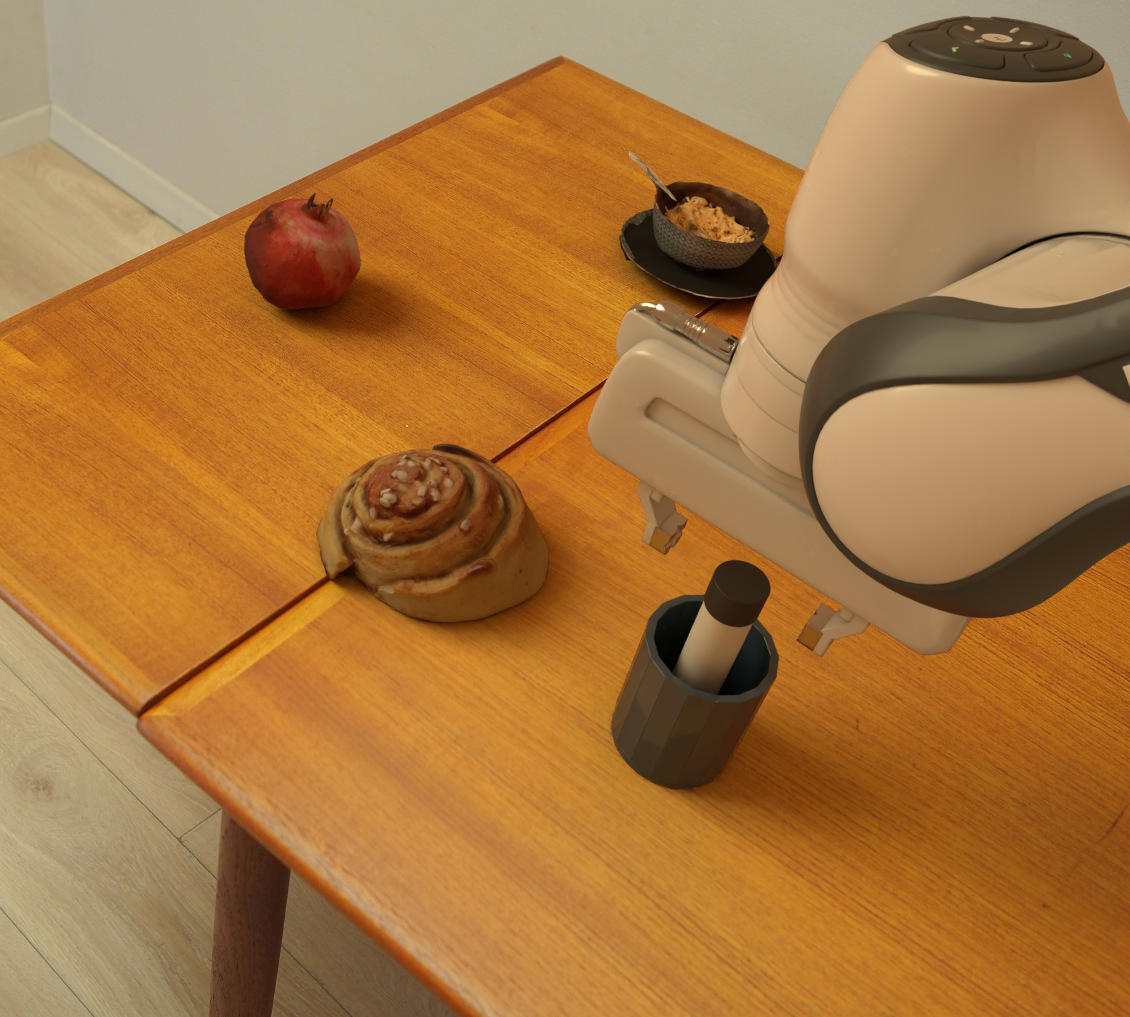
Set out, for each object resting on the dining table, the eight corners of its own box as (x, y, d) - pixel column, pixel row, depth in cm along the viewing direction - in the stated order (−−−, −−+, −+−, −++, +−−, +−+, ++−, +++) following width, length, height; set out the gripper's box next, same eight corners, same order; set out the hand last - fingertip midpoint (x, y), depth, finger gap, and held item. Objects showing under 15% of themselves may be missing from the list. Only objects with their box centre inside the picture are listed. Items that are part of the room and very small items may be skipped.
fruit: (220, 292, 95) (217, 184, 88) (303, 250, 101) (306, 146, 93) (298, 345, 92) (301, 237, 84) (380, 298, 97) (389, 194, 90)
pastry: (293, 507, 79) (295, 421, 74) (488, 462, 85) (504, 378, 79) (363, 655, 71) (372, 572, 66) (573, 594, 77) (598, 512, 71)
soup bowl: (682, 328, 99) (706, 255, 94) (578, 229, 108) (595, 157, 103) (809, 290, 106) (837, 220, 100) (700, 200, 114) (722, 131, 109)
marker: (707, 729, 70) (781, 581, 60) (681, 760, 68) (753, 613, 58) (665, 700, 71) (731, 550, 61) (639, 730, 69) (703, 581, 59)
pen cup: (752, 733, 71) (801, 645, 64) (691, 813, 66) (737, 727, 60) (652, 664, 74) (689, 573, 67) (587, 736, 69) (620, 647, 63)
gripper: (596, 310, 52) (541, 516, 62) (1024, 553, 45) (884, 744, 55) (668, 257, 56) (605, 460, 66) (1074, 474, 48) (935, 666, 58)
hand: (734, 591), depth 60 cm, fingers open, 8 cm apart
